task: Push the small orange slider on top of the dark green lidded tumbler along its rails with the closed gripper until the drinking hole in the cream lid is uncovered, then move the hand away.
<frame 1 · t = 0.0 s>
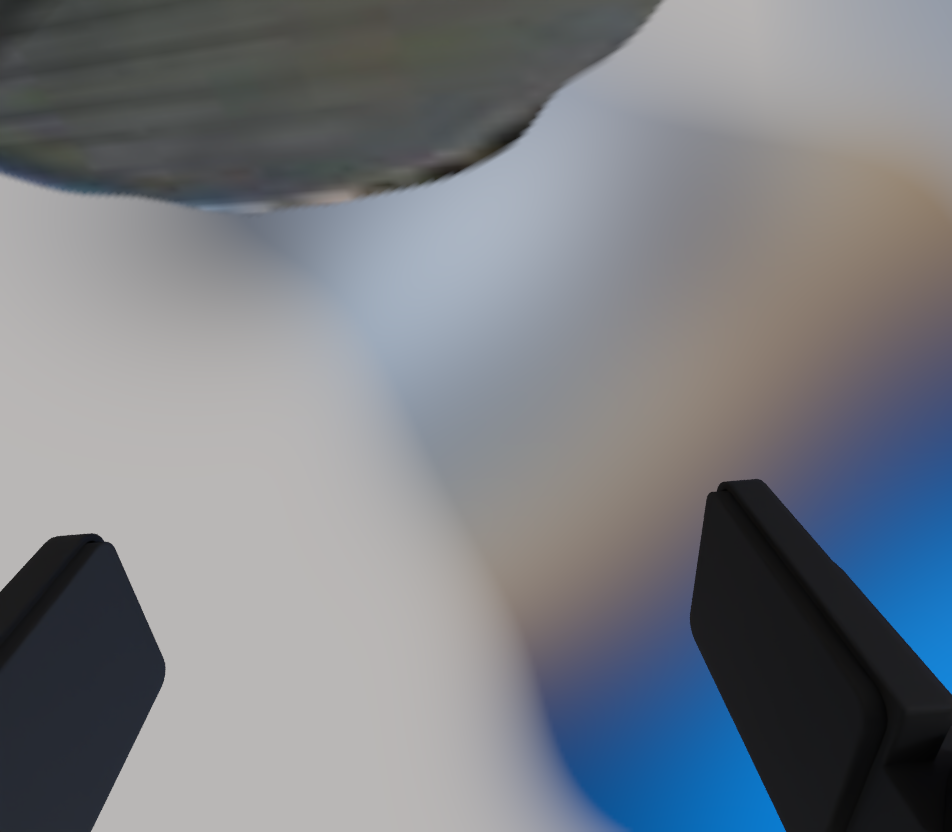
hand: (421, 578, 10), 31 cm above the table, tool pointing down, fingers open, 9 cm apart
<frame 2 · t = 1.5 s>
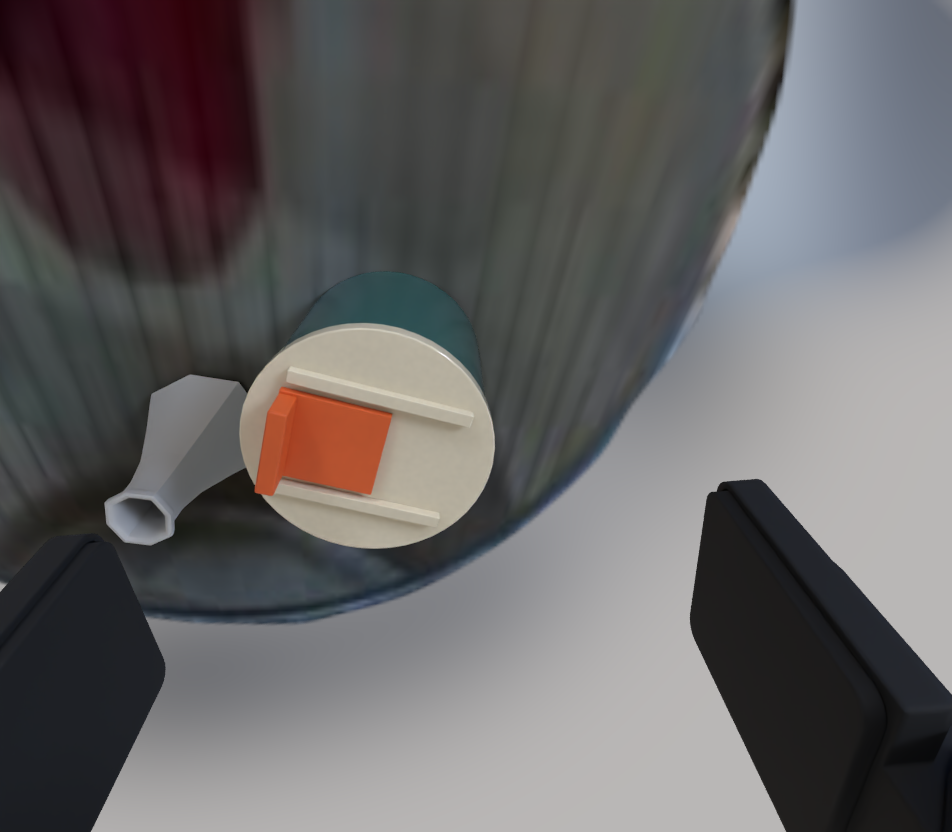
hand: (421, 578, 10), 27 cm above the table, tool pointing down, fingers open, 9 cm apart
tumbler: (389, 360, 36), on the table
slider: (324, 453, 25), point 12 cm above the table, slide at 0.0 cm
flask: (212, 423, 38), on the table
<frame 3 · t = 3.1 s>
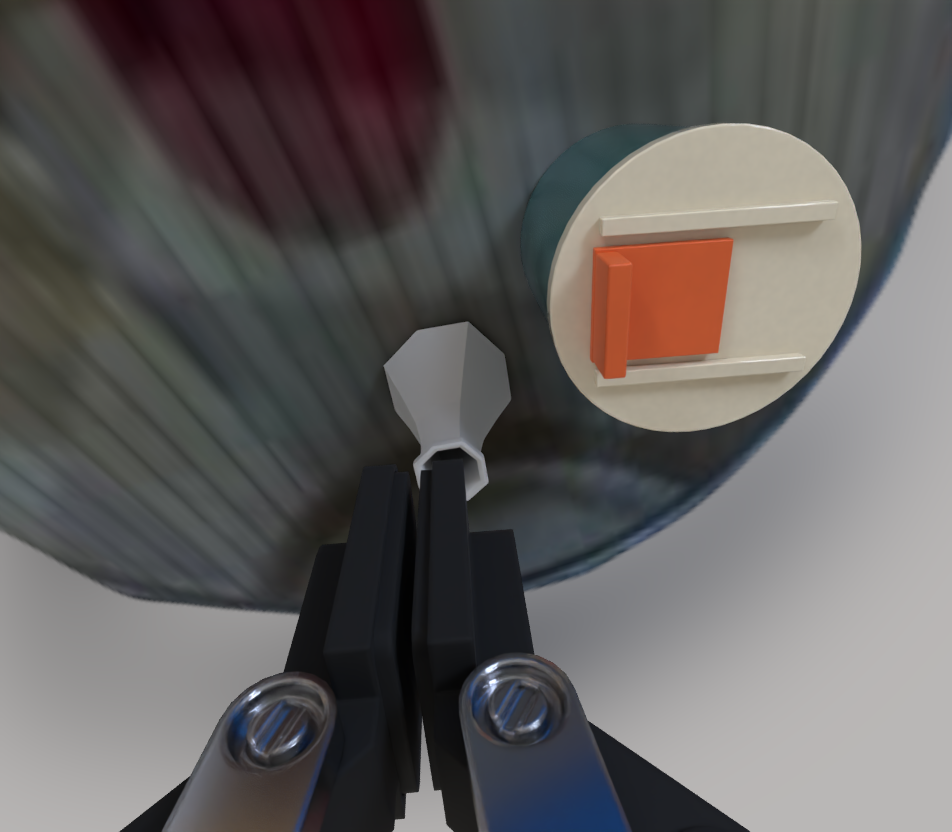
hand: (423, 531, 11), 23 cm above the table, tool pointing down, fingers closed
tumbler: (623, 239, 31), on the table
slider: (666, 309, 21), point 12 cm above the table, slide at 0.0 cm
flask: (448, 379, 35), on the table
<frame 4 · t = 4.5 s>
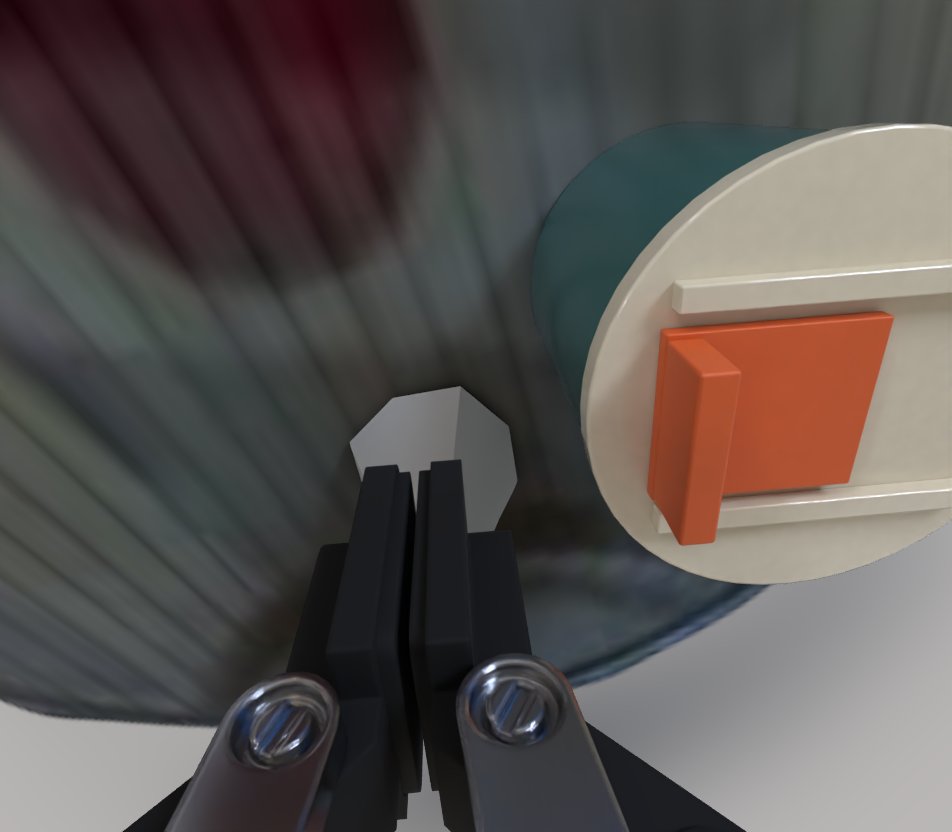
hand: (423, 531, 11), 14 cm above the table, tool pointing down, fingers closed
tumbler: (669, 278, 23), on the table
slider: (781, 430, 13), point 12 cm above the table, slide at 0.0 cm
flask: (435, 456, 27), on the table
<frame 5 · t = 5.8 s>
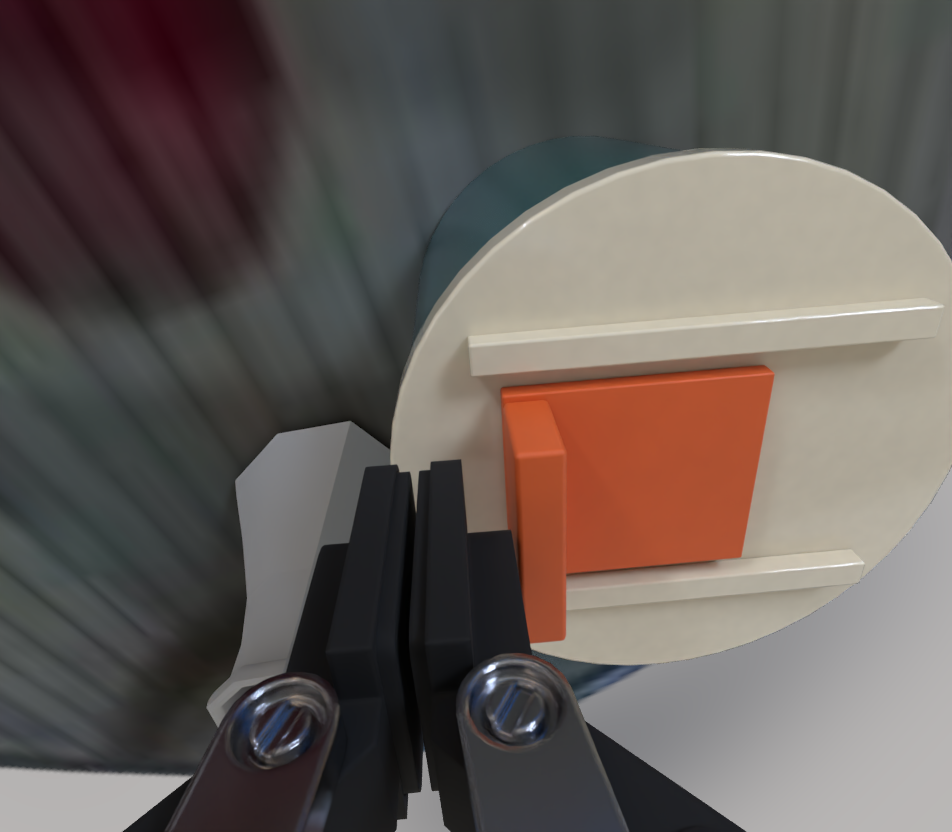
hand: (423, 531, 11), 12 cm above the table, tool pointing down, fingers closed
tumbler: (571, 305, 21), on the table
slider: (644, 506, 11), point 12 cm above the table, slide at 0.7 cm, touching gripper
flask: (333, 493, 25), on the table
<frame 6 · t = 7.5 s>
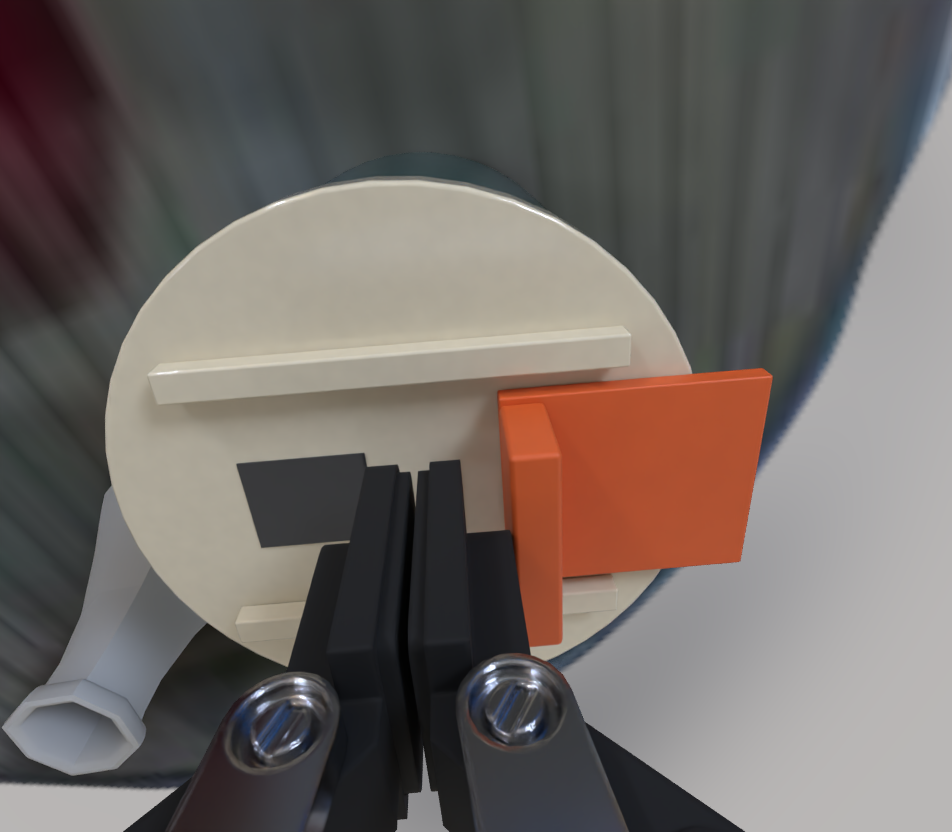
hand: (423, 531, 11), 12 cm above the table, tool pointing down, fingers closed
tumbler: (427, 320, 21), on the table
slider: (641, 510, 11), point 12 cm above the table, slide at 5.9 cm, touching gripper
flask: (209, 507, 25), on the table
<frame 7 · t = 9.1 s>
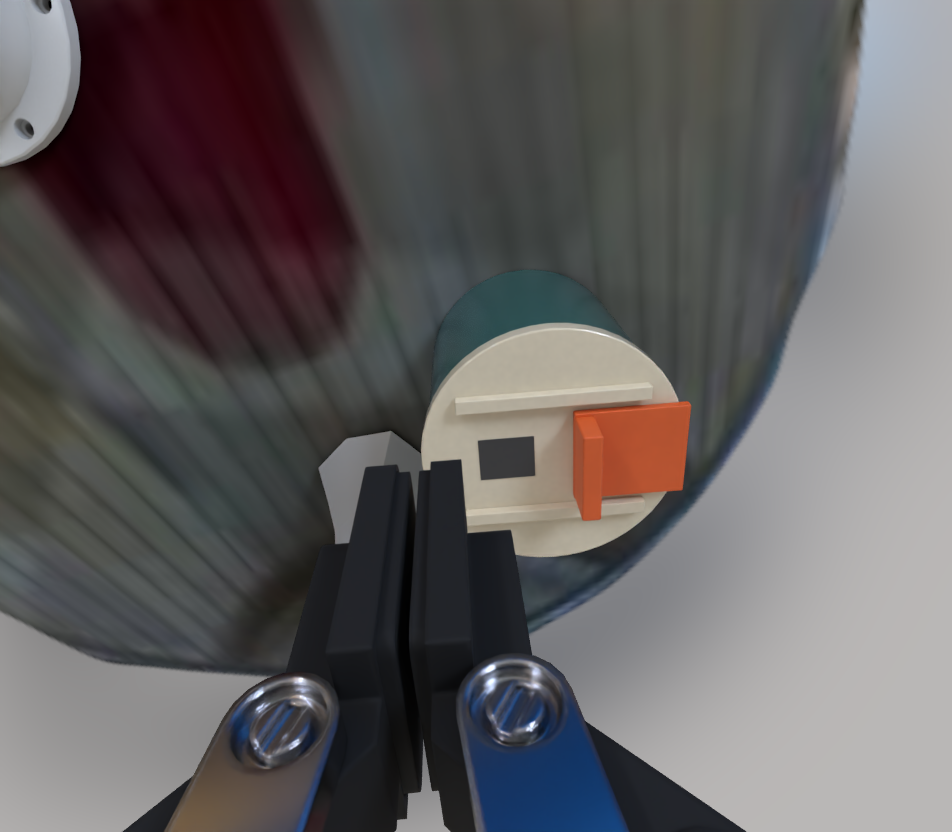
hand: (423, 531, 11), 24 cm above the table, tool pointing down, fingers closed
tumbler: (525, 362, 35), on the table
slider: (635, 462, 24), point 12 cm above the table, slide at 5.1 cm
flask: (378, 477, 39), on the table
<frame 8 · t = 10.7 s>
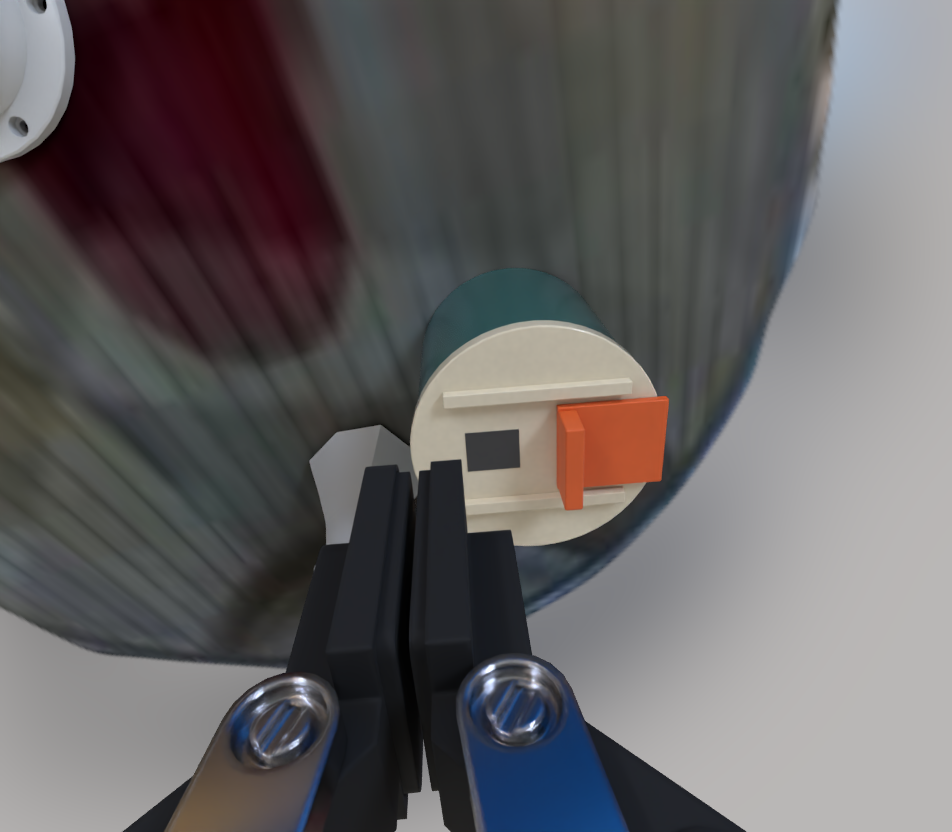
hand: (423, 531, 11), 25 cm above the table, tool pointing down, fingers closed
tumbler: (512, 357, 36), on the table
slider: (615, 454, 26), point 12 cm above the table, slide at 5.1 cm
flask: (368, 470, 40), on the table
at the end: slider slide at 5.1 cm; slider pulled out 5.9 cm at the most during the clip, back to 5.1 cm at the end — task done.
